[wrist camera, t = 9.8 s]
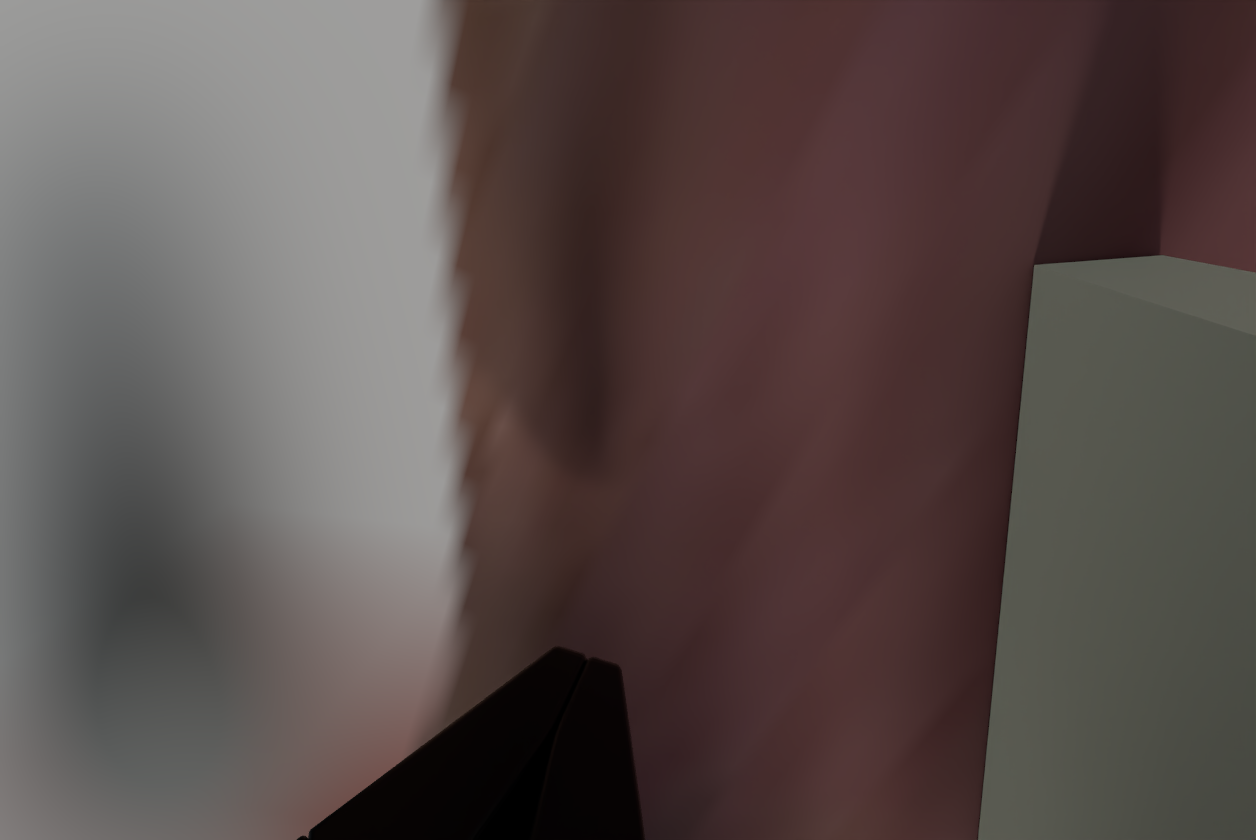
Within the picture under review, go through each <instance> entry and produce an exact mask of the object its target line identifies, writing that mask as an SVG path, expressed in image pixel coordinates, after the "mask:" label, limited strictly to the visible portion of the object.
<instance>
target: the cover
mask: <svg viewBox="0 0 1256 840" xmlns="http://www.w3.org/2000/svg"><path fill="white" fill-rule="evenodd" d="M978 840H1256V273H1255V272H1249V271H1244V270H1239V269H1233V268H1228V267H1223V266H1217V265H1212V264H1207V263H1201V262H1196V261H1191V260H1185V259H1180V258H1175V257H1169V256H1164V255H1159V256H1145V257H1132V258H1119V259H1106V260H1093V261H1079V262H1066V263H1053V264H1040V265H1034V273H1033V283H1032V293H1031V303H1030V314H1029V324H1028V334H1027V344H1026V354H1025V365H1024V375H1023V385H1022V395H1021V405H1020V416H1019V426H1018V436H1017V446H1016V456H1015V467H1014V477H1013V487H1012V497H1011V507H1010V518H1009V528H1008V538H1007V548H1006V558H1005V569H1004V579H1003V589H1002V599H1001V609H1000V620H999V630H998V640H997V650H996V660H995V671H994V681H993V691H992V701H991V711H990V722H989V732H988V742H987V752H986V762H985V773H984V783H983V793H982V803H981V813H980V824H979V834H978Z"/></svg>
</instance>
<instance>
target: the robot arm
mask: <svg viewBox="0 0 1256 840" xmlns="http://www.w3.org/2000/svg"><path fill="white" fill-rule="evenodd" d="M297 840H645V834H644V827H643V820H642V813H641V805H640V798H639V791H638V784H637V777H636V770H635V762H634V755H633V748H632V741H631V734H630V726H629V719H628V712H627V705H626V698H625V691H624V683H623V676H622V670H621V668H620V666H619V665H617V664H615V663H612V662H608V661H605V660H602V659H599V658H596V657H591V658H589V659H588V660H587V658H586V656H585V655H584V654H583V653H580V652H576V651H573V650H570V649H567V648H564V647H560V646H557V647H554V648H552V649H551V650H549V651H548V652H547V653H545V654H544V655H543V656H541V657H540V658H539V659H537V660H536V661H535V662H533V663H532V664H531V665H529V666H528V667H527V668H525V669H524V670H523V671H521V672H520V673H519V674H517V675H516V676H515V677H513V678H512V679H511V680H509V681H508V682H507V683H505V684H504V685H503V686H501V687H500V688H499V689H497V690H496V691H495V692H493V693H492V694H491V695H489V696H488V697H487V698H485V699H484V700H483V701H481V702H480V703H479V704H477V705H476V706H475V707H473V708H472V709H471V710H469V711H468V712H467V713H465V714H464V715H463V716H461V717H460V718H459V719H457V720H456V721H455V722H453V723H452V724H451V725H449V726H448V727H447V728H445V729H444V730H443V731H441V732H440V733H439V734H437V735H436V736H435V737H433V738H432V739H431V740H429V741H428V742H427V743H425V744H424V745H423V746H421V747H420V748H419V749H417V750H416V751H415V752H413V753H412V754H411V755H409V756H408V757H407V758H405V759H404V760H403V761H401V762H400V763H399V764H397V765H396V766H395V767H393V768H392V769H391V770H389V771H388V772H387V773H385V774H384V775H383V776H381V777H380V778H379V779H377V780H376V781H375V782H373V783H372V784H371V785H369V786H368V787H367V788H365V789H364V790H363V791H362V792H360V793H359V794H358V795H356V796H355V797H353V798H352V799H351V800H349V801H348V802H347V803H346V804H344V805H343V806H341V807H340V808H339V809H338V810H336V811H335V812H333V813H332V814H331V815H329V816H328V817H327V818H325V819H324V820H323V821H321V822H320V823H319V824H317V825H316V826H315V827H313V828H312V829H311V830H310V832H309V836H308V838H307V837H306V836H301V837H299V838H298V839H297Z"/></svg>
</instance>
